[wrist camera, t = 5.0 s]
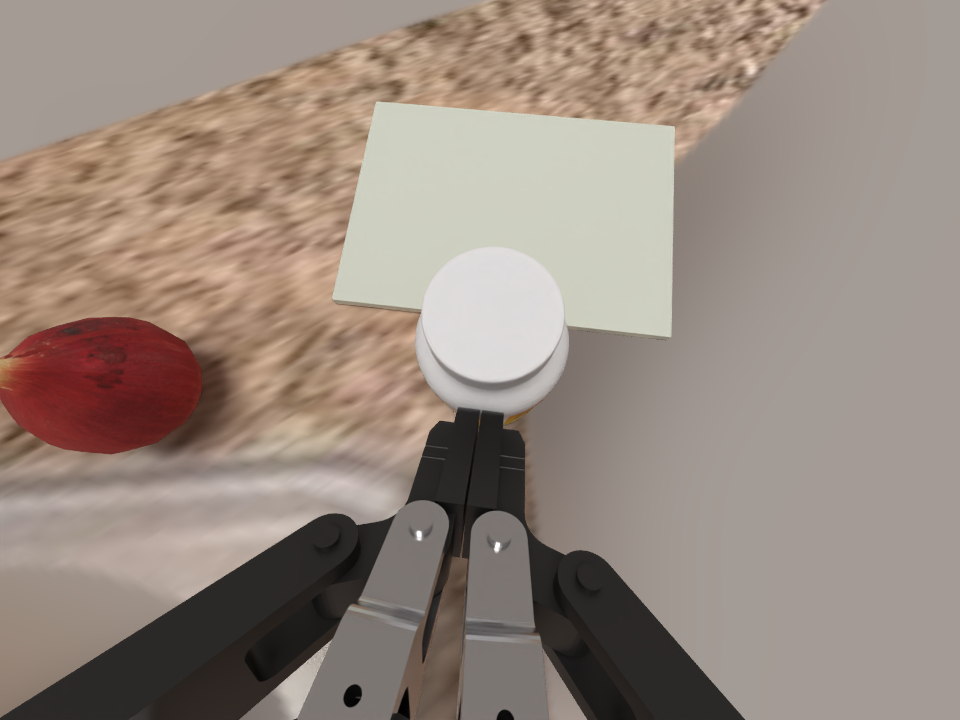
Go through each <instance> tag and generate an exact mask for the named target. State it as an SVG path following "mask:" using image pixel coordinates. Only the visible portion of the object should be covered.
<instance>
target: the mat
mask: <svg viewBox="0 0 960 720" xmlns="http://www.w3.org/2000/svg"><path fill="white" fill-rule="evenodd" d="M674 136H675V126H664V125H652V124H640V123H628V122H616V121H604V120H592V119H580V118H568V117H556V116H544V115H532V114H520V113H508V112H496V111H484V110H472V109H460V108H449V107H437V106H425V105H413V104H401V103H389V102H377V101H376V105H375V109H374V113H373V118H372V122H371V127H370V131H369V136H368V140H367V145H366V149H365V154H364V158H363V163H362V167H361V171H360V176H359V180H358V185H357V189H356V194H355V198H354V203H353V207H352V212H351V216H350V221H349V225H348V230H347V234H346V238H345V243H344V247H343V252H342V256H341V261H340V265H339V270H338V274H337V279H336V283H335V288H334V292H333V297H332V300H333V301H334V302H335V303H337V304H346V305H355V306H364V307H373V308H382V309H391V310H400V311H409V312H418V313H421V308H422V302H423V298H424V294H425V291H426V289H427V287H428V285H429V283H430V281H431V280H432V278H433V277H434V275H435V274H436V273H437V272H438V271H439V270H440V268H441V267H442V266H444V265H445V264H446V263H447V262H448V261H450V260H451V259H453V258H454V257H456V256H458V255H460V254H462V253H464V252H467V251H470V250H473V249H477V248H482V247H505V248H509V249H513V250H517V251H520V252H523V253H525V254H527V255H529V256H530V257H532V258H534V259H535V260H537V261H538V262H539V263H540V264H542V265H543V266H544V267H545V268H546V269H547V270H548V271H549V272H550V274H551V275H552V276H553V278H554V279H555V281H556V282H557V284H558V287H559V289H560V291H561V294H562V297H563V301H564V306H565V321H566V324H567V329H570V330H578V331H587V332H596V333H606V334H614V335H623V336H632V337H640V338H650V339H659V340H667V339H669V338H671V320H672V259H673V258H672V257H673V196H674V195H673V194H674Z"/></svg>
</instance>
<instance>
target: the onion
mask: <svg viewBox="0 0 960 720" xmlns="http://www.w3.org/2000/svg"><path fill="white" fill-rule="evenodd" d="M201 391H202V375H201V367H200V366H199V364H198V362H197V360H196V358H195V357H194V355H193V353H192V351H191V350H190V349H189V347H188V346H187V344H186V343H185V341H183V340H181V339H180V338H178V337H176V336H174V335H172V334H171V333H169V332H167V331H165V330H163V329H161V328H159V327H158V326H156V325H154V324H152V323H150V322H147V321H143V320H138V319H134V318H126V317H102V318H86V319H82V320H78V321H75V322H71V323H67V324H63V325H59V326H56V327H53V328H50V329H46V330H44V331H41V332H38V333H36V334H34V335H31V336H29V337H27V338H26V339H25V340H24V341H23V342H21V343H20V344H19V345H18V346H17V347H16V348H15V349H14V350H13V351H11V352H10V353H9V354H8V355H6V356H4V357H2V358H0V399H1V401H2V403H3V405H4V406H5V407H6V409H7V410H8V412H9V413H10V415H11V416H12V418H13V419H14V420H15V421H16V422H17V423H18V425H19V426H21V427H22V428H24V429H25V430H27V431H28V432H30V433H31V434H33V435H35V436H36V437H38V438H40V439H41V440H43V441H45V442H46V443H48V444H50V445H53V446H56V447H59V448H62V449H66V450H74V451H81V452H92V453H103V454H115V453H120V452H124V451H129V450H132V449H136V448H139V447H143V446H146V445H150V444H153V443H157V442H158V441H159V440H161V439H162V438H163V437H165V436H166V435H167V434H169V433H170V432H171V431H173V430H174V429H176V428H177V427H179V426H180V425H182V424H183V423H185V422H186V420H187V419H188V418H189V416H190V415H191V413H192V412H193V411H194V409H195V408H196V407H197V404H198V401H199V397H200V394H201Z"/></svg>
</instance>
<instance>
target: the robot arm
mask: <svg viewBox="0 0 960 720" xmlns="http://www.w3.org/2000/svg"><path fill="white" fill-rule="evenodd" d="M479 418H480V410H478V409H470V408H463V407H458V409H457V413H456V417H455V421H454V423H453V422H446V421H439V422H438V423H437V424H436V425H435V426H434V427H433V428H432V429H431V431H430V432H429V435H428V439H427V442H426V446H425V448H424V451H423V454H422V458H421V461H420V464H419V467H418V470H417V473H416V476H415V480H414V483H413V486H412V489H411V492H410V495H409V498H408V501H407V503H406V504H405V506H404V507H403V508H401V509H400V510H399V512H398V513H397V514H395V515H394V516H392V517H390V518H389V519H386V520H383V521H379V522H374V523H368V524H362V525H356V524H355V522H354V521H353V520H352V519H351V518H350V517H348V516H346V515H343V514H327V515H323V516H321V517H318V518H316V519H315V520H313V521H311V522H310V523H308V524H307V525H305V526H303V527H302V528H300V529H299V530H297V531H295V532H294V533H292V534H291V535H289V536H288V537H286V538H284V539H283V540H281V541H280V542H278V543H276V544H275V545H273V546H272V547H270V548H268V549H267V550H265V551H264V552H262V553H261V554H259V555H257V556H256V557H254V558H253V559H251V560H249V561H248V562H246V563H245V564H243V565H242V566H240V567H238V568H237V569H235V570H234V571H232V572H230V573H229V574H227V575H226V576H224V577H223V578H221V579H219V580H218V581H216V582H215V583H213V584H211V585H210V586H208V587H207V588H205V589H204V590H202V591H200V592H199V593H197V594H196V595H194V596H192V597H191V598H189V599H188V600H186V601H185V602H183V603H181V604H180V605H178V606H177V607H175V608H173V609H172V610H170V611H169V612H167V613H165V614H164V615H162V616H161V617H159V618H158V619H156V620H154V621H153V622H152V623H150V624H148V625H146V626H145V627H143V628H142V629H141V630H139V631H137V632H135V633H134V634H132V635H131V636H129V637H128V638H126V639H124V640H123V641H121V642H120V643H118V644H116V645H115V646H113V647H112V648H110V649H108V650H107V651H105V652H104V653H102V654H101V655H99V656H98V657H96V658H94V659H93V660H91V661H90V662H88V663H87V664H85V665H83V666H82V667H80V668H78V669H77V670H75V671H74V672H72V673H71V674H69V675H67V676H66V677H64V678H63V679H61V680H59V681H58V682H56V683H55V684H53V685H51V686H50V687H48V688H47V689H45V690H43V691H42V692H40V693H39V694H37V695H36V696H34V697H32V698H31V699H29V700H28V701H26V702H24V703H23V704H21V705H20V706H18V707H17V708H15V709H13V710H12V711H10V712H9V713H7V714H6V715H4V716H2V717H1V718H0V720H239V719H240V718H241V717H242V716H244V715H245V714H246V713H247V712H248V711H249V710H251V708H253V707H254V706H255V705H256V704H257V703H259V702H260V701H261V700H262V699H263V698H264V697H266V696H267V695H268V694H269V693H270V692H271V691H273V690H274V689H275V688H276V687H277V686H278V685H279V684H281V683H282V682H283V681H284V680H285V679H286V678H288V677H289V676H290V675H291V674H292V673H293V672H295V671H296V670H297V669H298V668H299V667H300V666H301V665H303V664H304V663H305V662H306V661H307V660H308V659H310V658H311V657H312V656H313V655H314V654H315V653H316V652H318V651H319V650H320V649H321V648H322V647H323V646H325V645H326V644H327V643H328V642H329V641H330V640H331V639H333V640H332V642H331V644H330V646H329V649H328V651H327V653H326V655H325V658H324V660H323V662H322V664H321V667H320V669H319V671H318V673H317V676H316V678H315V680H314V682H313V685H312V687H311V689H310V691H309V694H308V696H307V698H306V700H305V703H304V705H303V707H302V709H301V712H300V714H299V716H298V718H296V719H294V720H415V717H416V712H417V708H418V704H419V699H420V695H421V689H422V684H423V677H424V672H425V667H426V663H427V659H428V655H429V651H430V647H431V643H432V639H433V635H434V631H435V627H436V623H437V619H438V615H439V611H440V607H441V603H442V599H443V595H444V591H445V586H446V582H447V580H448V576H449V571H450V565H451V559H452V556H453V557H460V552H461V546H462V540H463V533H464V543H463V554H462V558H468V565H467V575H466V584H465V595H464V611H463V627H462V643H461V659H460V674H459V687H458V700H457V714H456V720H549V716H548V705H547V694H546V683H545V672H544V661H543V651H542V647H543V649H544V651H545V652H546V654H547V656H548V657H549V659H550V660H551V662H552V664H553V665H554V667H555V668H556V670H557V672H558V673H559V675H560V677H561V678H562V680H563V681H564V683H565V684H566V686H567V688H568V689H569V691H570V692H571V694H572V696H573V697H574V699H575V701H576V702H577V704H578V705H579V707H580V709H581V710H582V712H583V713H584V715H585V716H586V718H587V720H745V719H744V718H743V717H742V716H741V714H740V713H739V712H738V711H737V710H736V709H735V708H734V707H733V705H732V704H731V703H730V702H729V701H728V700H727V699H726V697H725V696H724V695H723V694H722V693H721V692H720V691H719V690H718V688H717V687H716V686H715V685H714V684H713V683H712V682H711V680H710V679H709V678H708V677H707V676H706V675H705V674H704V672H703V671H702V670H701V669H700V668H699V667H698V665H696V663H695V662H694V661H693V660H692V659H691V657H690V656H689V655H688V654H687V653H686V652H685V651H684V649H683V648H682V647H681V646H680V645H679V644H678V643H677V641H676V640H675V639H674V638H673V637H672V636H671V635H670V633H669V632H668V631H667V630H666V629H665V628H664V627H663V625H662V624H661V623H660V622H659V621H658V620H657V619H656V617H655V616H654V615H653V614H652V613H651V612H650V611H649V609H648V608H647V607H646V606H645V605H644V604H643V603H642V602H641V600H640V599H639V598H638V597H637V596H636V595H635V594H634V592H633V591H632V590H631V589H630V588H629V587H628V586H627V584H626V583H625V582H624V581H623V580H622V579H621V578H620V576H619V575H618V574H617V573H616V572H615V571H614V569H613V568H612V567H611V566H610V565H609V564H608V563H607V562H606V561H605V560H604V559H602V558H601V557H600V556H598V555H596V554H594V553H591V552H588V551H582V550H580V551H573V552H570V553H569V554H567V555H564V554H562V553H560V552H558V551H556V550H554V549H551V548H549V547H547V546H546V545H544V544H542V543H541V542H540V541H538V540H537V539H536V538H535V537H534V536H533V534H532V533H531V532H530V530H529V528H528V526H527V524H526V521H525V514H524V509H525V443H524V441H523V439H522V437H521V435H520V433H519V431H515V430H507V429H503V420H504V413H502V412H494V411H487V410H482V413H481V419H480V426H479ZM478 428H479V432H478ZM465 520H466V521H465ZM464 527H465V532H464Z"/></svg>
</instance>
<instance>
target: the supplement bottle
mask: <svg viewBox="0 0 960 720" xmlns="http://www.w3.org/2000/svg"><path fill="white" fill-rule="evenodd" d="M415 348H416V355H417V360H418V363H419V366H420V369H421V371H422V373H423V376H424V378H425V380H426V381H427V383H428V385H429V386H430V388H431V389H432V390H433V392H434V393H435V394H436V395H437V396H438V397H439V398H440V399H441V400H442V401H443V402H444V403H445V404H446V405H447V406H448V407H449V408H451V409H452V410H453V411H454V412H455V413H457V409H458V407H463V408H470V409H478V410H480V418H479V425H480V419H481V413H482V410H487V411H494V412H502V413H504V420H503V425H506V424H509V423H512V422H514V421H516V420H518V419H519V418H521V417H522V416H524V415H525V414H526V413H528V412H529V411H530V410H531V409H532V408H533V407H534V406H536V405H537V404H538V403H540V402H541V401H542V400H543V399H544V398H545V397H546V396H547V395H548V394H549V393H550V391H551V390H552V389H553V387H554V386H555V385H556V383H557V382H558V380H559V378H560V376H561V375H562V373H563V370H564V368H565V364H566V361H567V357H568V350H569V335H568V329H567V324H566V321H565V306H564V301H563V297H562V294H561V291H560V289H559V287H558V284H557V282H556V281H555V279H554V278H553V276H552V275H551V274H550V272H549V271H548V270H547V269H546V268H545V267H544V266H543V265H542V264H540V263H539V262H538V261H537V260H535V259H534V258H532V257H530V256H529V255H527V254H525V253H523V252H520V251H517V250H513V249H509V248H505V247H482V248H477V249H473V250H470V251H467V252H464V253H462V254H460V255H458V256H456V257H454V258H453V259H451V260H450V261H448V262H447V263H446V264H445V265H444V266H442V267H441V268H440V270H439V271H438V272H437V273H436V274H435V275H434V277H433V278H432V280H431V281H430V283H429V285H428V287H427V289H426V291H425V294H424V298H423V302H422V308H421V315H420V317H419V320H418V324H417V329H416V337H415Z"/></svg>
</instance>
